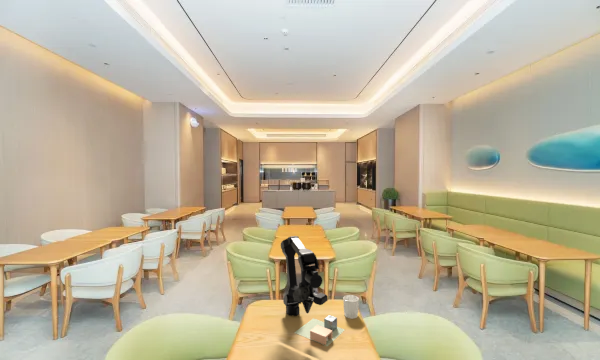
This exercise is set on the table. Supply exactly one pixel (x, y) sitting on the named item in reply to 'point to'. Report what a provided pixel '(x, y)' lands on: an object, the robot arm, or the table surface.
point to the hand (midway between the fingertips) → (307, 312)
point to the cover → (320, 334)
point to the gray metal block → (330, 322)
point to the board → (312, 323)
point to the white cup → (351, 306)
